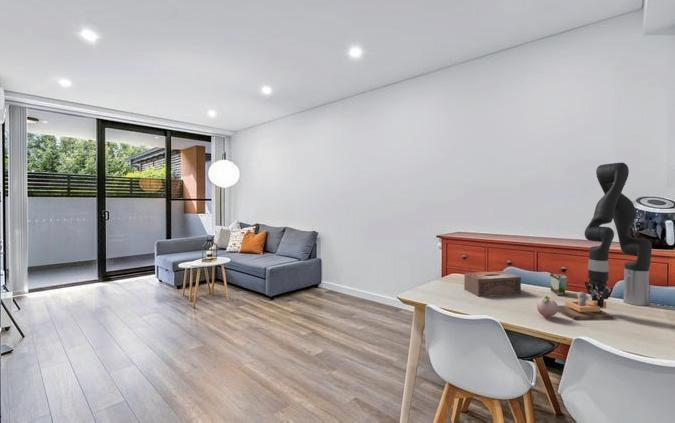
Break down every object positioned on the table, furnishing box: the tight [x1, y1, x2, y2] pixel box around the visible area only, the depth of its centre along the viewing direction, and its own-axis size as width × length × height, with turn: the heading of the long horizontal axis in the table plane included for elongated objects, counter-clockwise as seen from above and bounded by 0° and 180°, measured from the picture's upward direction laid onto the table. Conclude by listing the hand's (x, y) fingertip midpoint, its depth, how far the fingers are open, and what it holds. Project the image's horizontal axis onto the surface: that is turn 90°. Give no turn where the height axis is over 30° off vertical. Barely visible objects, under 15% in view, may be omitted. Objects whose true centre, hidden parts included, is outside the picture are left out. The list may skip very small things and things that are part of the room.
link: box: [564, 300, 607, 312], centre depth 152 cm, size 15×9×3 cm, turn 91°
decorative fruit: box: [536, 295, 559, 319], centre depth 148 cm, size 9×8×10 cm
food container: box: [549, 273, 569, 297], centre depth 184 cm, size 12×6×10 cm, turn 168°
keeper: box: [557, 291, 614, 321], centre depth 152 cm, size 18×14×10 cm
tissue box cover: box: [463, 270, 522, 297], centre depth 189 cm, size 26×14×10 cm, turn 98°
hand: (597, 305), depth 153 cm, fingers closed on link, 2 cm apart
